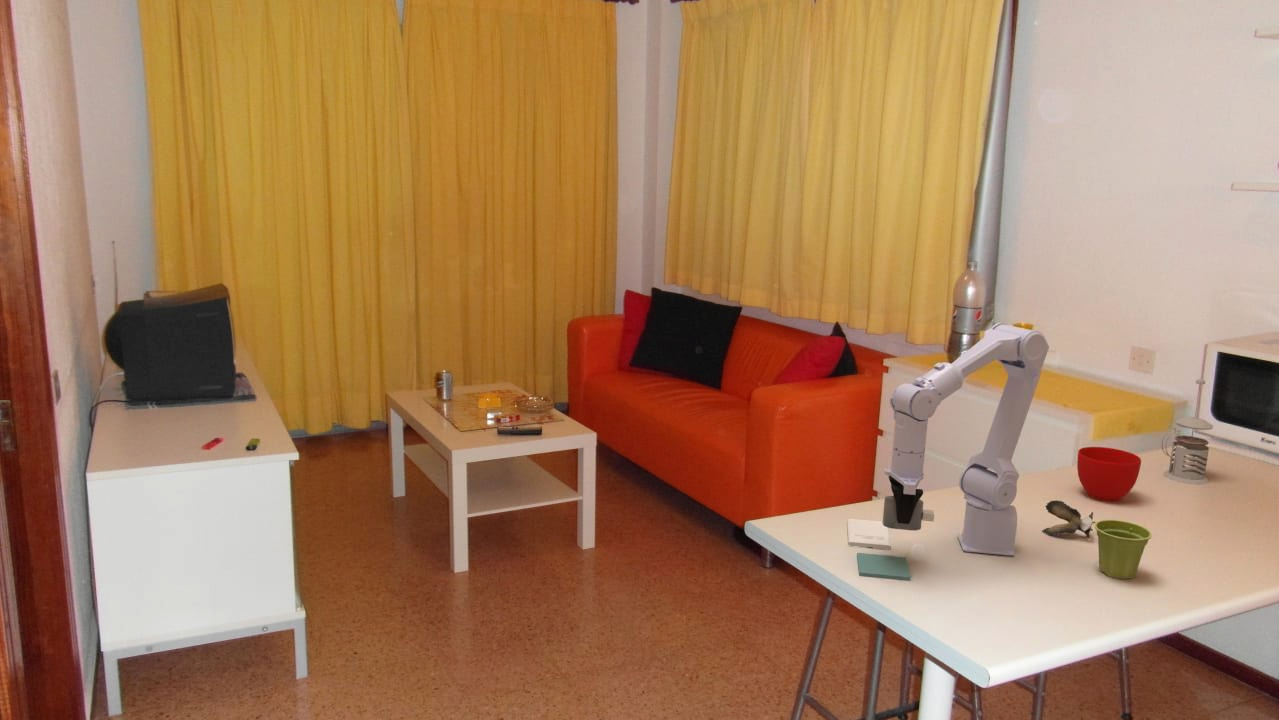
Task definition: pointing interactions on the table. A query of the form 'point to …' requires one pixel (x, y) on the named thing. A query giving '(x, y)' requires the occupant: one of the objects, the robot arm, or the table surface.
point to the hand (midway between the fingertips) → (902, 518)
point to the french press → (1189, 451)
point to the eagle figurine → (1068, 519)
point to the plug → (916, 519)
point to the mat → (883, 566)
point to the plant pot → (1120, 547)
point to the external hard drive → (868, 534)
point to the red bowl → (1107, 472)
